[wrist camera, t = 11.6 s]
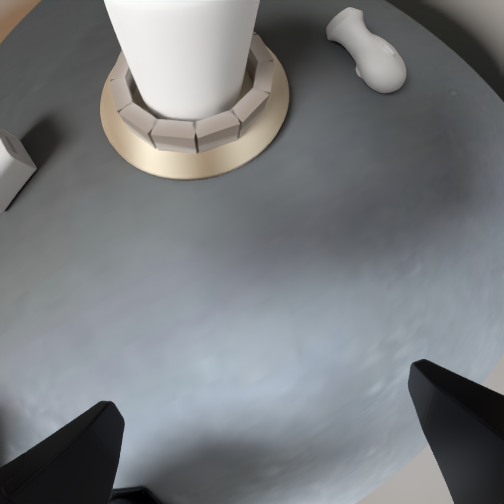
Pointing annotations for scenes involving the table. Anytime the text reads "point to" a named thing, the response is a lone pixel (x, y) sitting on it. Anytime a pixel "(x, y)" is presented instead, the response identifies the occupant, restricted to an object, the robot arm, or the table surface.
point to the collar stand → (197, 123)
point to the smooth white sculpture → (368, 51)
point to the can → (185, 52)
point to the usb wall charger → (12, 168)
